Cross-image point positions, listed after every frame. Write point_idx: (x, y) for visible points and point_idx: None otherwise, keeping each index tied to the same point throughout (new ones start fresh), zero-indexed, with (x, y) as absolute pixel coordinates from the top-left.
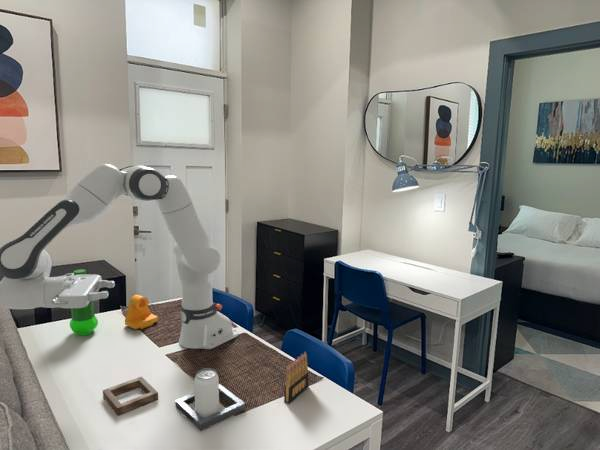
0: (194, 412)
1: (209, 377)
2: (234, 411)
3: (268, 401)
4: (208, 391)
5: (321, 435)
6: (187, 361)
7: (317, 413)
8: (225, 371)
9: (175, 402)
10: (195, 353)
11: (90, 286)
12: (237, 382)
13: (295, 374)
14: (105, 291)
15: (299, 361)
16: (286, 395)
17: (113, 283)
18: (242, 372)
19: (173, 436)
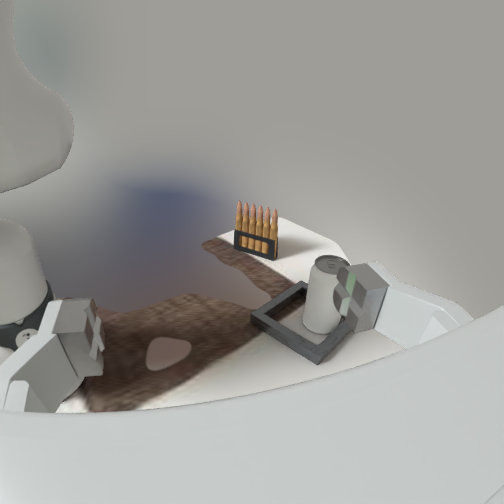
0: (341, 324)
1: (339, 261)
2: None
3: (275, 271)
4: None
5: (323, 240)
6: (140, 383)
7: (289, 241)
8: (190, 320)
9: (319, 358)
10: (106, 372)
11: (380, 374)
12: (228, 303)
13: (263, 224)
14: (361, 269)
15: (255, 209)
16: (275, 250)
17: (93, 304)
18: (196, 300)
19: (383, 344)
